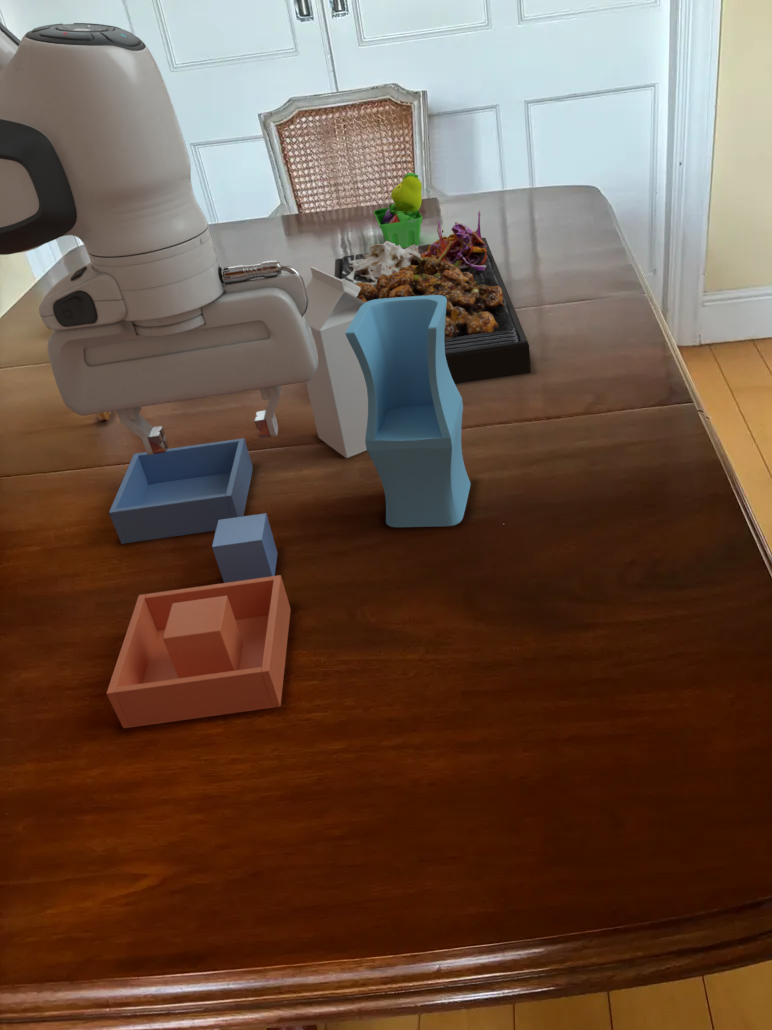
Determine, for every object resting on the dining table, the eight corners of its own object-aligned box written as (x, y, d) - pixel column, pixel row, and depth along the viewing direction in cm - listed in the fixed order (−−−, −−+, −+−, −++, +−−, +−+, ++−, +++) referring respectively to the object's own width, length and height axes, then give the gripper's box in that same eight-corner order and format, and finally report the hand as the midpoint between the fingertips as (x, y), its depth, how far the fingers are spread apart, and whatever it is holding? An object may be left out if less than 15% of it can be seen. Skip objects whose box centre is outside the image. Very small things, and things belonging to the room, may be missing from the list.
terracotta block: (181, 686, 71) (162, 638, 68) (190, 649, 75) (172, 602, 72) (237, 678, 71) (220, 630, 68) (243, 642, 75) (227, 595, 72)
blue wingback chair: (382, 532, 87) (344, 333, 75) (397, 489, 93) (363, 299, 81) (462, 530, 85) (436, 327, 73) (472, 487, 92) (449, 293, 79)
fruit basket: (377, 238, 166) (366, 173, 160) (423, 230, 167) (415, 164, 160) (384, 255, 157) (373, 187, 150) (433, 247, 158) (425, 178, 151)
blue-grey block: (226, 591, 82) (211, 546, 79) (232, 563, 86) (218, 519, 83) (275, 584, 82) (261, 539, 79) (278, 556, 86) (266, 512, 83)
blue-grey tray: (122, 547, 90) (108, 512, 88) (146, 486, 100) (133, 453, 97) (242, 530, 90) (231, 495, 88) (254, 471, 100) (244, 437, 97)
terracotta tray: (125, 732, 69) (105, 693, 66) (154, 632, 78) (138, 594, 76) (281, 711, 69) (268, 670, 66) (291, 613, 78) (280, 574, 76)
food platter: (340, 286, 147) (327, 221, 140) (488, 265, 147) (482, 198, 140) (334, 404, 111) (317, 324, 105) (531, 376, 111) (525, 293, 105)
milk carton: (347, 462, 99) (310, 291, 87) (318, 440, 104) (280, 276, 92) (401, 439, 102) (373, 271, 90) (371, 419, 107) (340, 257, 95)
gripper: (300, 244, 69) (336, 407, 78) (41, 284, 70) (105, 442, 78) (295, 269, 64) (335, 441, 73) (15, 312, 64) (87, 478, 73)
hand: (214, 442), depth 75 cm, fingers open, 8 cm apart
